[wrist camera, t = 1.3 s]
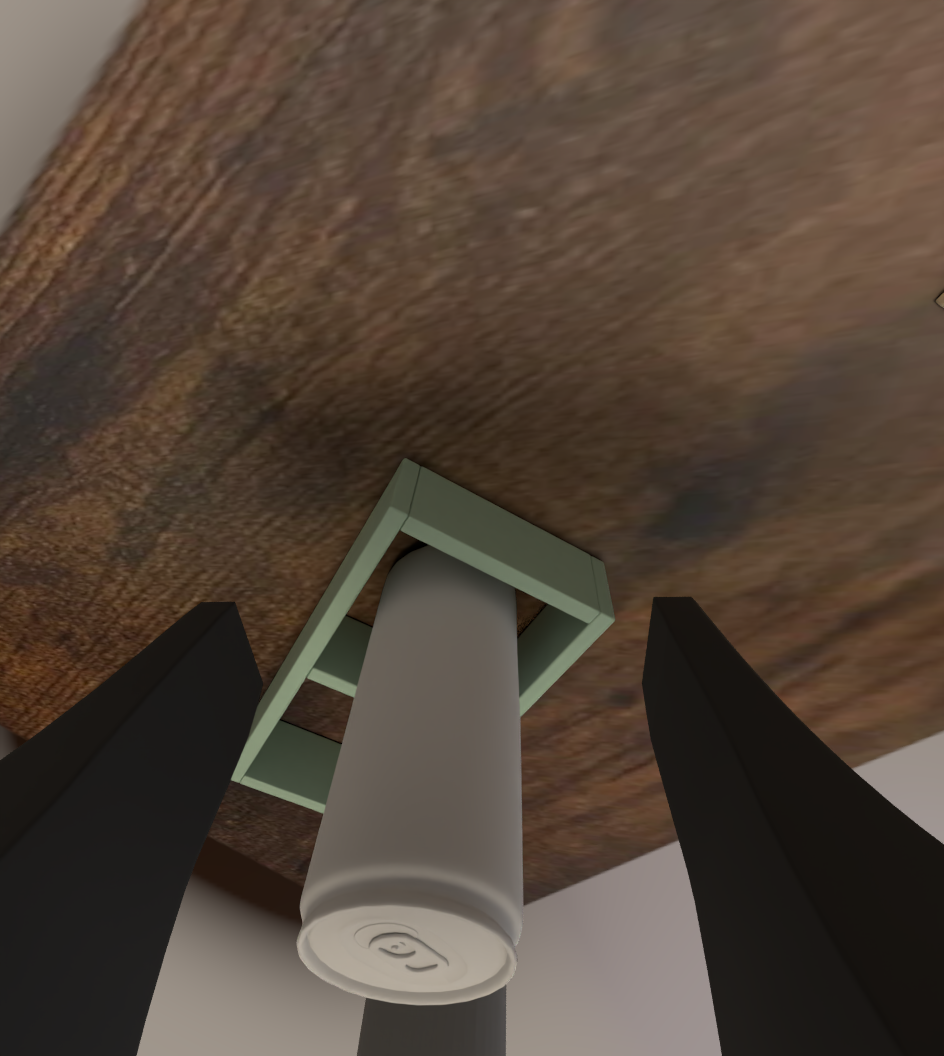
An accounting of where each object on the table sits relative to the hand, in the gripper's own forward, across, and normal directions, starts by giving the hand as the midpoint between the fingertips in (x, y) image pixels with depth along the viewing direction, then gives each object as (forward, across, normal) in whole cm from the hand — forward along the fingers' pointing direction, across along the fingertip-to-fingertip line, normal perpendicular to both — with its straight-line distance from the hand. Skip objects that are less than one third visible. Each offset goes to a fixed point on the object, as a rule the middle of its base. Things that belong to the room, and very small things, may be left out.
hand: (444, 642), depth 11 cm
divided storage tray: (+10, +3, +10) cm, 14 cm away
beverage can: (+10, +1, +7) cm, 12 cm away
